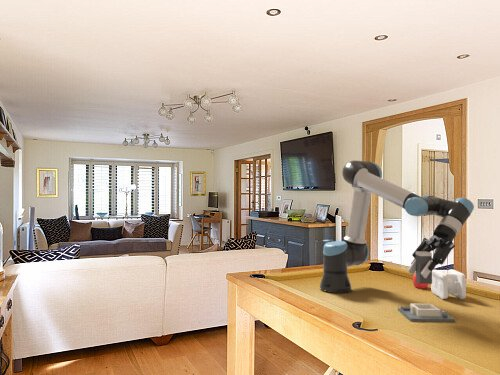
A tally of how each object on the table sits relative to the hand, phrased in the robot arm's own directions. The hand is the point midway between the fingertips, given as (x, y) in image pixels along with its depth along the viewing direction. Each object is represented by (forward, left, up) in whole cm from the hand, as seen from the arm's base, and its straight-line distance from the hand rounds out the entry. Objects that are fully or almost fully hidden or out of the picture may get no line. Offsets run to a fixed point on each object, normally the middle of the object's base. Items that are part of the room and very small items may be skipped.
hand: (416, 274), depth 146 cm
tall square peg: (+3, +2, -3) cm, 5 cm away
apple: (+21, +49, -17) cm, 55 cm away
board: (+4, +2, -16) cm, 17 cm away
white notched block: (+26, +31, -17) cm, 43 cm away
